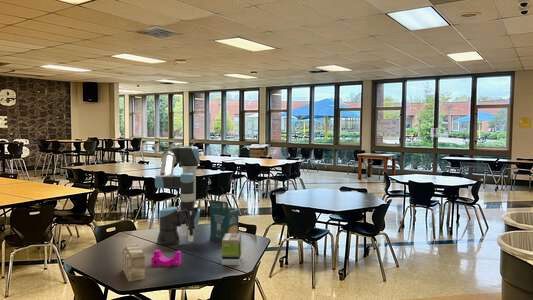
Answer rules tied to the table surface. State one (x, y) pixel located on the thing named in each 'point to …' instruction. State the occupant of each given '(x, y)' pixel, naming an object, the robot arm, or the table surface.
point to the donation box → (222, 220)
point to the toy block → (165, 259)
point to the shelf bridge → (133, 262)
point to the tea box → (231, 249)
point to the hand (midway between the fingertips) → (187, 238)
